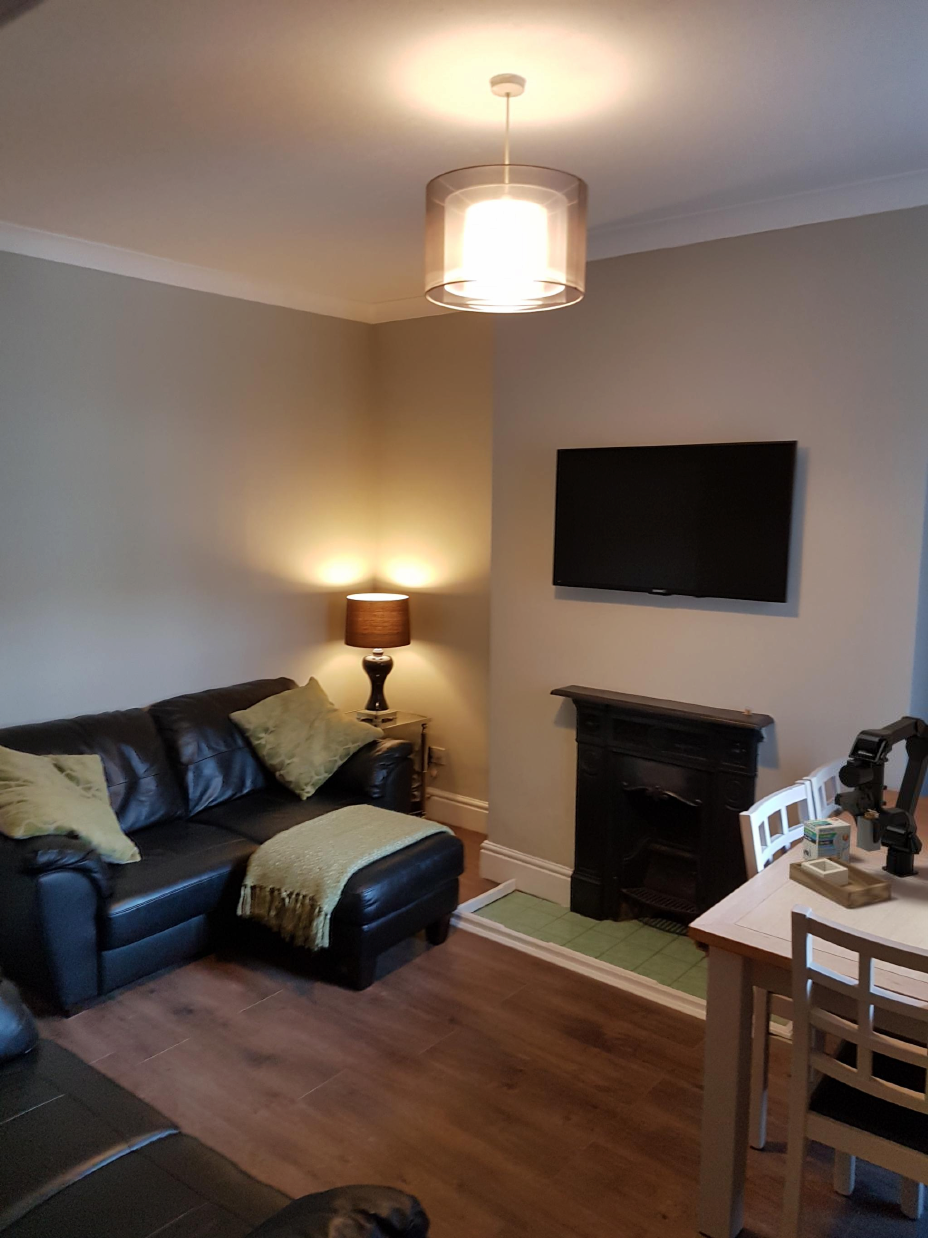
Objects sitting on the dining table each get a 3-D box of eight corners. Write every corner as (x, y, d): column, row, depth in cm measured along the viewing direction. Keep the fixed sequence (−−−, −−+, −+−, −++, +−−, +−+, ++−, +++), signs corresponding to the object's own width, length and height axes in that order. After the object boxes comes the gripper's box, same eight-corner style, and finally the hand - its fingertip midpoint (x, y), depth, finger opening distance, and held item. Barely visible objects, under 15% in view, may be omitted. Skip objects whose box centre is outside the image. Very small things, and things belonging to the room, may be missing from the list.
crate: (830, 870, 245) (831, 855, 244) (890, 899, 226) (891, 883, 226) (789, 878, 240) (789, 863, 239) (847, 908, 221) (847, 892, 221)
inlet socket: (824, 873, 241) (825, 858, 241) (847, 884, 234) (848, 869, 234) (800, 877, 238) (801, 863, 238) (823, 889, 231) (823, 874, 231)
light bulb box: (817, 867, 247) (818, 828, 246) (801, 858, 254) (802, 820, 252) (850, 862, 250) (852, 824, 249) (834, 853, 256) (835, 816, 255)
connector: (868, 844, 236) (869, 810, 235) (880, 849, 232) (882, 815, 231) (856, 846, 234) (857, 812, 233) (868, 851, 230) (870, 817, 229)
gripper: (819, 775, 236) (817, 833, 238) (877, 794, 219) (874, 857, 221) (851, 770, 241) (849, 827, 242) (911, 789, 224) (908, 850, 225)
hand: (868, 840), depth 233 cm, fingers closed on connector, 4 cm apart
